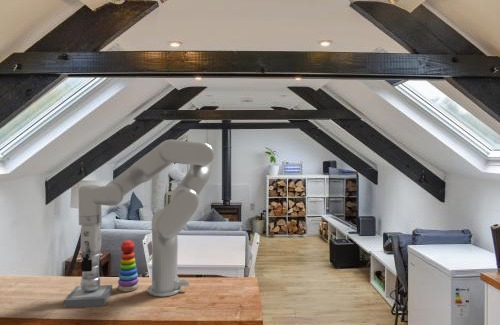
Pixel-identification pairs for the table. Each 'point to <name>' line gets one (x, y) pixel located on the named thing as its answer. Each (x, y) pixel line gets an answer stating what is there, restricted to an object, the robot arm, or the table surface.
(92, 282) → the metal water bottle
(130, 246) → the stacking toy
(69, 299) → the slate pedestal
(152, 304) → the table surface
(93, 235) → the robot arm
